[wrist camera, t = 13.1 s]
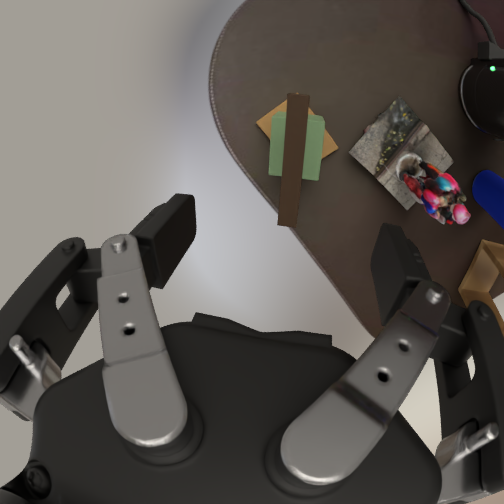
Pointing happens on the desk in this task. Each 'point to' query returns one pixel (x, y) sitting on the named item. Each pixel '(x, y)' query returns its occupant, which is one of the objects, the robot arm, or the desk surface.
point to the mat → (328, 142)
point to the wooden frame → (484, 276)
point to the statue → (411, 163)
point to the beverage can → (490, 194)
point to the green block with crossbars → (295, 153)
